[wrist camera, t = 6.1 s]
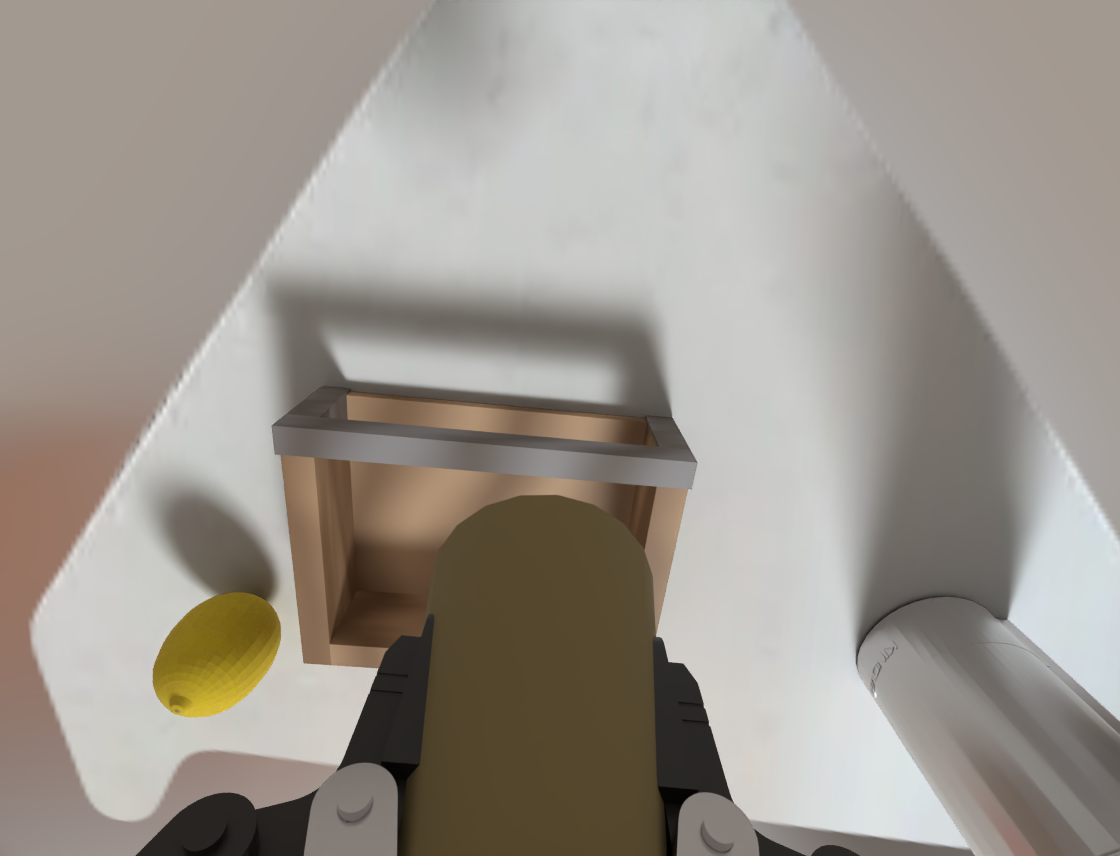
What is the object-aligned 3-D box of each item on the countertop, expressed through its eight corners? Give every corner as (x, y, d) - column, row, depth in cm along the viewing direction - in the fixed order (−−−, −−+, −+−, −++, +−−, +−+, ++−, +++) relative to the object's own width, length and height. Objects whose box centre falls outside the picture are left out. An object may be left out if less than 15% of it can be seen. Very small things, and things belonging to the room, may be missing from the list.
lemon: (211, 624, 35) (118, 737, 27) (215, 556, 33) (117, 659, 25) (297, 643, 35) (229, 758, 28) (307, 577, 33) (237, 683, 26)
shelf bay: (672, 418, 29) (697, 462, 24) (632, 622, 35) (646, 693, 30) (321, 386, 29) (271, 425, 24) (337, 601, 34) (299, 670, 29)
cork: (630, 685, 16) (757, 1532, 6) (425, 663, 16) (171, 1523, 5) (675, 509, 14) (1019, 1394, 3) (437, 479, 13) (39, 1360, 3)
